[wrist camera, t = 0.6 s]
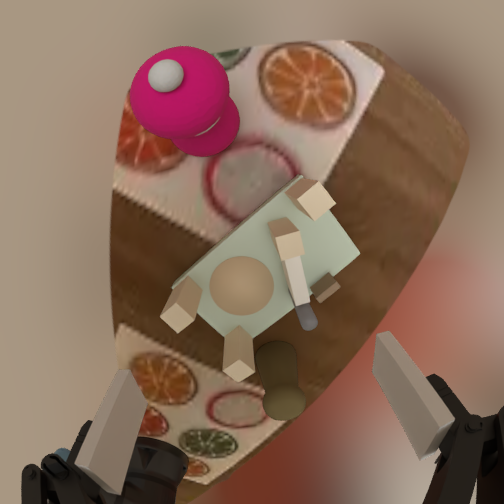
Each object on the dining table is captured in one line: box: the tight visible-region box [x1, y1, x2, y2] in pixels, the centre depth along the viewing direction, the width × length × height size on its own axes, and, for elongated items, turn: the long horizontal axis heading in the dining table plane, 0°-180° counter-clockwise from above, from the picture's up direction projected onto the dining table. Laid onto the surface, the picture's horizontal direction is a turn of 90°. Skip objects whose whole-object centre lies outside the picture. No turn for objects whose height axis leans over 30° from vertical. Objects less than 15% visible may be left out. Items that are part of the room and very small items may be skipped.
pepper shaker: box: [255, 341, 306, 421], centre depth 33 cm, size 6×6×11 cm
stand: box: [160, 175, 361, 383], centre depth 30 cm, size 20×12×10 cm, turn 131°
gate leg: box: [267, 217, 310, 306], centre depth 28 cm, size 8×2×7 cm, turn 16°
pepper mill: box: [130, 46, 240, 157], centre depth 20 cm, size 7×7×20 cm
